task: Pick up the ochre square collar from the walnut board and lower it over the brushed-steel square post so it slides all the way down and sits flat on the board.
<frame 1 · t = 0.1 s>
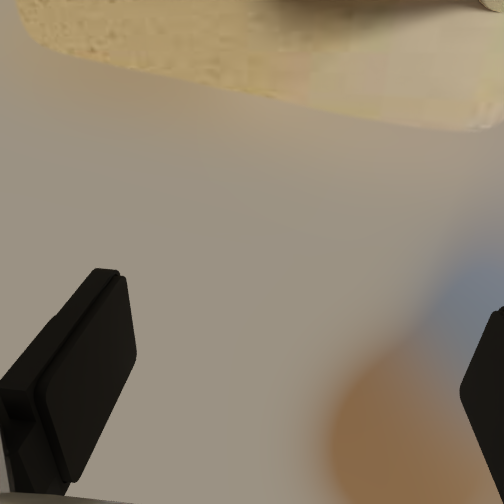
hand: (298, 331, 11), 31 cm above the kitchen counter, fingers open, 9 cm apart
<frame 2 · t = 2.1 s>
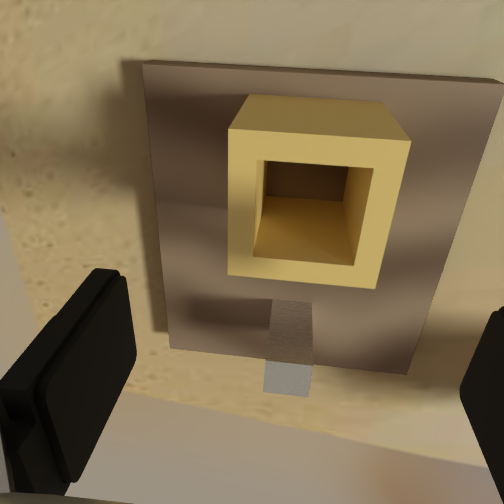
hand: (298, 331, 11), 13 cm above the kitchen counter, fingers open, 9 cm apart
post board: (298, 234, 24), on the kitchen counter
collar: (308, 161, 20), point 1 cm above the kitchen counter, touching post board
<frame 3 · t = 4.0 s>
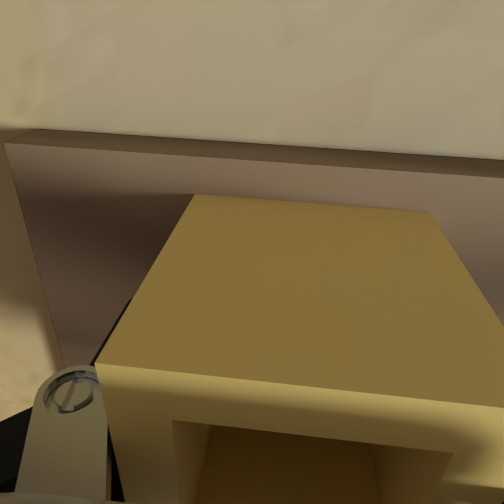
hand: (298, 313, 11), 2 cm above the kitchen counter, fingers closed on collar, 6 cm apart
post board: (286, 377, 16), on the kitchen counter
collar: (298, 296, 12), point 2 cm above the kitchen counter, touching gripper, post board
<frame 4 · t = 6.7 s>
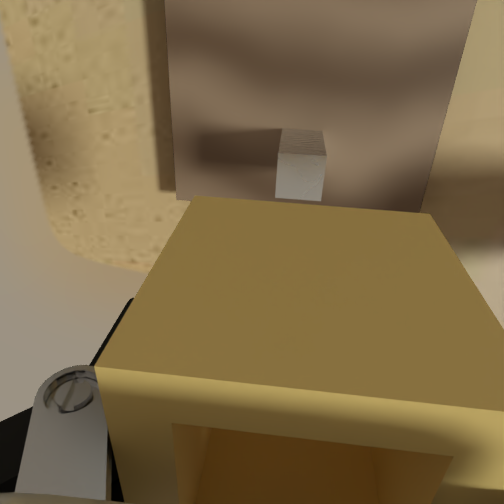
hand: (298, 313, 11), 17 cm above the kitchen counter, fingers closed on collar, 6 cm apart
post board: (308, 57, 24), on the kitchen counter
collar: (298, 298, 12), point 17 cm above the kitchen counter, touching gripper
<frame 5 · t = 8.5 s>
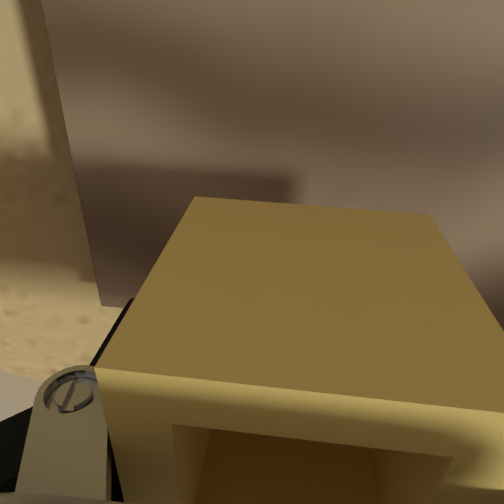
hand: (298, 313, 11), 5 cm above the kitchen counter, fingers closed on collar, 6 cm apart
post board: (318, 80, 13), on the kitchen counter
collar: (298, 298, 12), point 5 cm above the kitchen counter, touching gripper
when the fingers open (3 cm above the kitchen counter, at t = 9.7 s): collar stays where it is, resting on post board.
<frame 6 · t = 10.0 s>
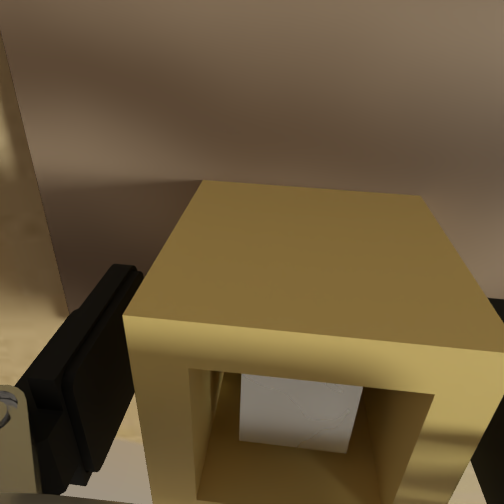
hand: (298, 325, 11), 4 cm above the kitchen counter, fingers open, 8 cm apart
post board: (316, 103, 12), on the kitchen counter
collar: (299, 277, 13), point 1 cm above the kitchen counter, touching post board
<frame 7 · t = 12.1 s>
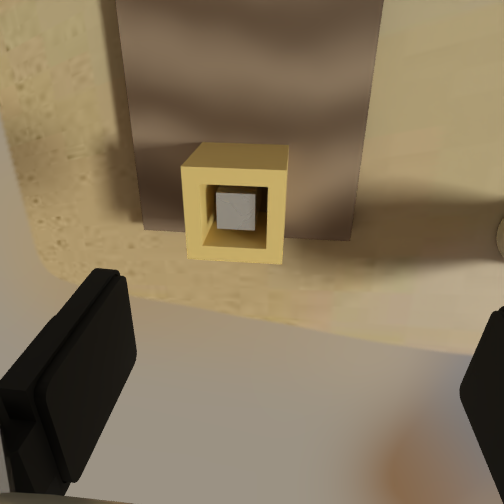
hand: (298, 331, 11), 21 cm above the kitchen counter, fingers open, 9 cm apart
post board: (247, 110, 28), on the kitchen counter
collar: (245, 185, 29), point 1 cm above the kitchen counter, touching post board
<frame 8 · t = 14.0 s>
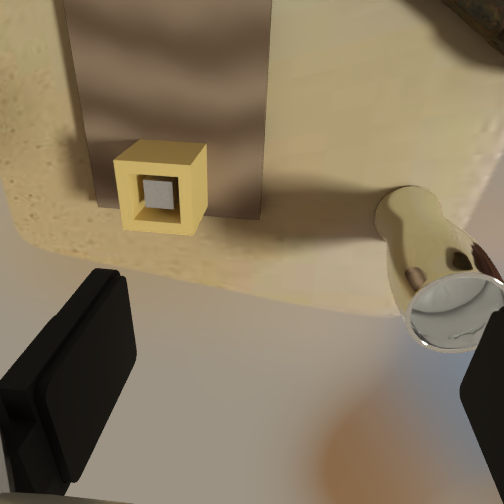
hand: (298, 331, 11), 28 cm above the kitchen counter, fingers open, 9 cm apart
post board: (176, 114, 36), on the kitchen counter
collar: (175, 173, 37), point 1 cm above the kitchen counter, touching post board
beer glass: (406, 214, 39), on the kitchen counter
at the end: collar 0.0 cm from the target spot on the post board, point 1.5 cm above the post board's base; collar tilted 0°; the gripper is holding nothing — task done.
